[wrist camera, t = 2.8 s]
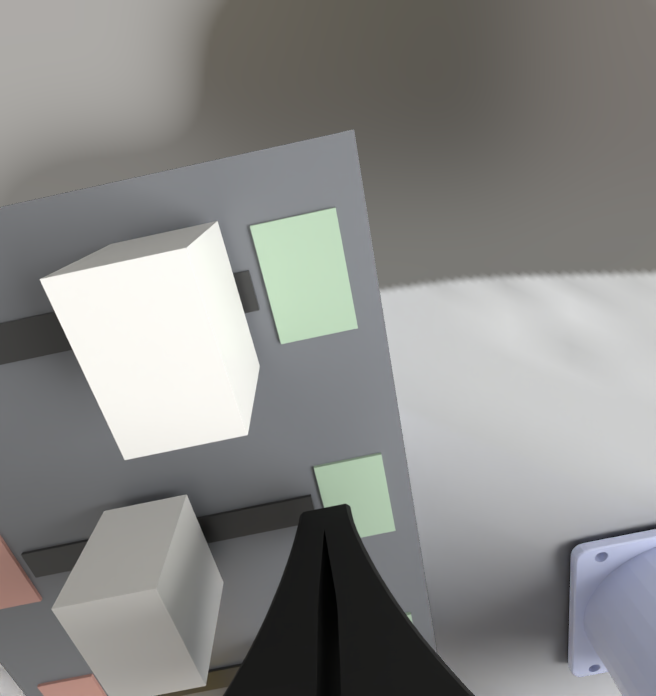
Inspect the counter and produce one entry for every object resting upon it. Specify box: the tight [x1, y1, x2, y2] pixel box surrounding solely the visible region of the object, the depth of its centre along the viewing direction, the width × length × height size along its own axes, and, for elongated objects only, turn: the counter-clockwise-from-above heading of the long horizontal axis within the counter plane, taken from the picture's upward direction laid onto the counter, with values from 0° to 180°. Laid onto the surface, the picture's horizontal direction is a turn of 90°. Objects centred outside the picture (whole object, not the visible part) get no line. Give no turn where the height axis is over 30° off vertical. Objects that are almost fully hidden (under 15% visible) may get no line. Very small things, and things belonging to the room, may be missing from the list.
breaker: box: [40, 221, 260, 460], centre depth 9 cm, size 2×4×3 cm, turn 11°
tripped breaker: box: [51, 494, 224, 696], centre depth 12 cm, size 2×4×3 cm, turn 11°
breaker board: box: [0, 130, 437, 696], centre depth 15 cm, size 15×20×2 cm
